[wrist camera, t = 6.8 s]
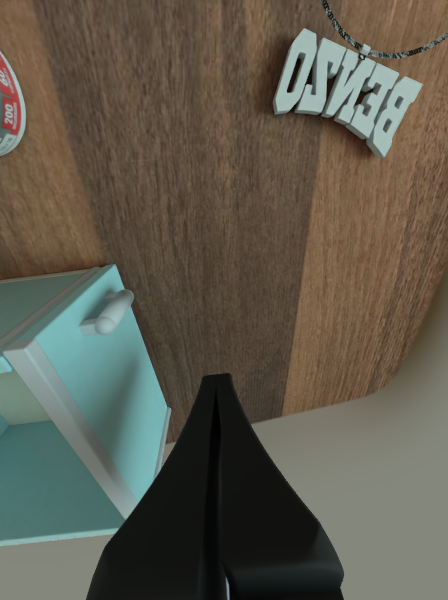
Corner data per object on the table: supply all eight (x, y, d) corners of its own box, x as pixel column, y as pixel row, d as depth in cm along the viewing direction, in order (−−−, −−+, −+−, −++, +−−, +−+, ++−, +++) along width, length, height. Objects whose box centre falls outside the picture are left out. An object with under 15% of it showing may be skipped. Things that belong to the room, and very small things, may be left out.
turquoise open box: (172, 411, 19) (150, 536, 13) (16, 429, 20) (-86, 562, 13) (122, 262, 13) (31, 350, 7) (-102, 290, 14) (-409, 404, 7)
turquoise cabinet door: (184, 405, 19) (169, 525, 12) (159, 408, 19) (131, 530, 12) (139, 260, 13) (68, 343, 7) (104, 265, 13) (0, 352, 7)
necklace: (385, 162, 12) (464, 19, 9) (394, 162, 11) (480, 9, 9) (259, 112, 10) (311, -65, 8) (262, 109, 10) (319, -82, 7)
